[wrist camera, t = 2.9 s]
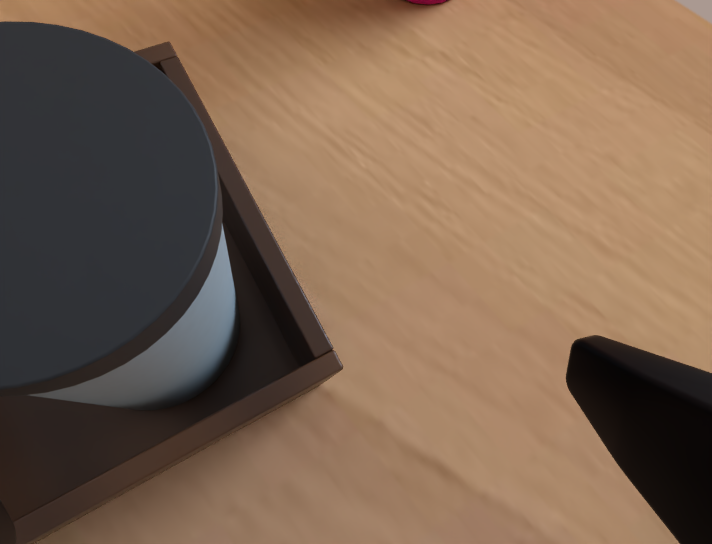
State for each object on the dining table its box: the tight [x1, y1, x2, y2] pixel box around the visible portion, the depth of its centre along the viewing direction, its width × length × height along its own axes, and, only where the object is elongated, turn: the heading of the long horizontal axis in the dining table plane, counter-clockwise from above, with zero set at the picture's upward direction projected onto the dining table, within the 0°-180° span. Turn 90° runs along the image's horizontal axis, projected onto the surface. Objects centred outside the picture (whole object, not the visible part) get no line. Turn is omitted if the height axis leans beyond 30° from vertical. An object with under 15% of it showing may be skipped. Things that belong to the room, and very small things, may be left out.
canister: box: [0, 22, 240, 410], centre depth 14 cm, size 7×7×12 cm
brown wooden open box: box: [0, 42, 343, 544], centre depth 17 cm, size 18×13×6 cm
